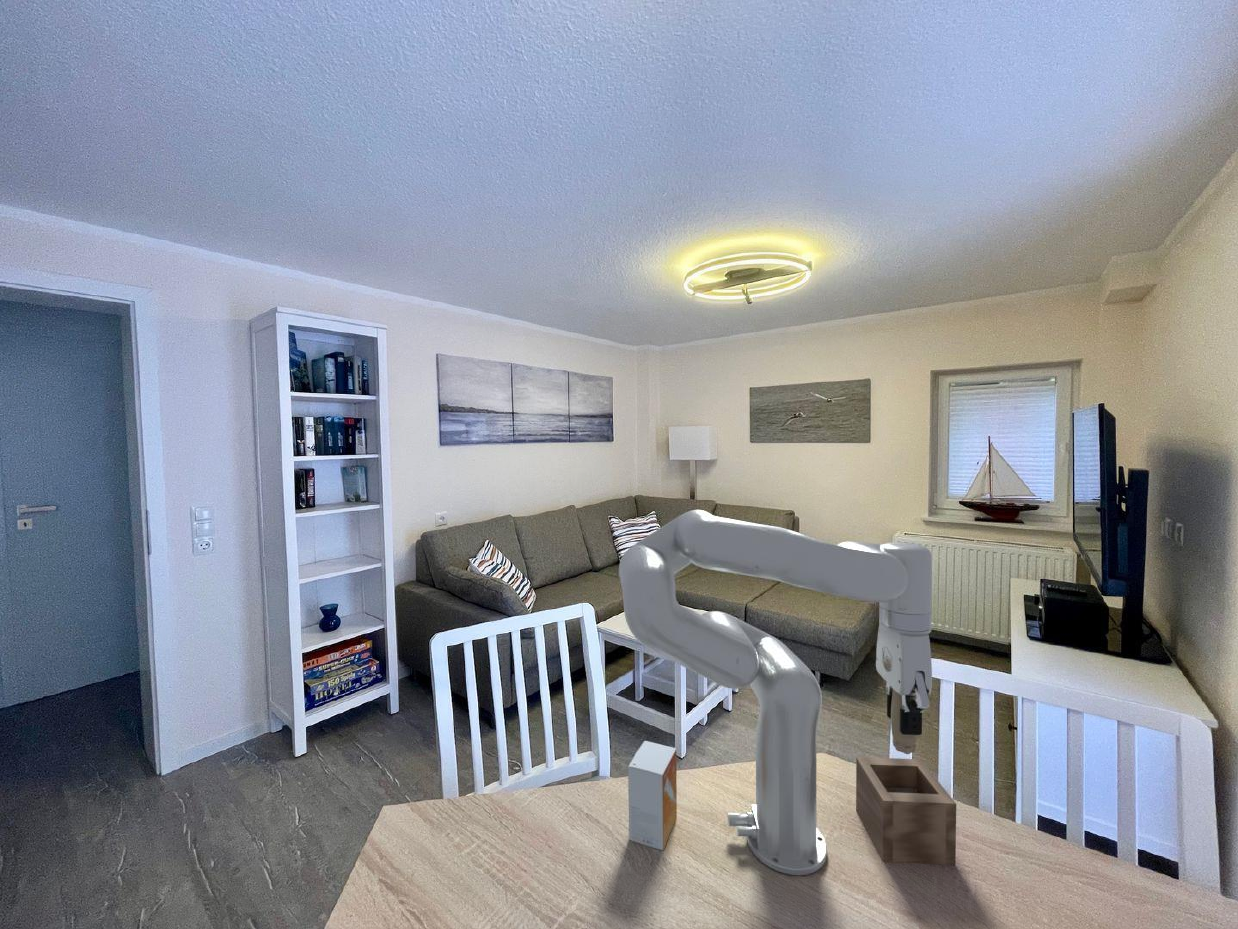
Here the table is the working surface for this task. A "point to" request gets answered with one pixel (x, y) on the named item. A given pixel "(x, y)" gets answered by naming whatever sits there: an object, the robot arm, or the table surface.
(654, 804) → the small box
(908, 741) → the handle
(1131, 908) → the table surface
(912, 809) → the sleeve
